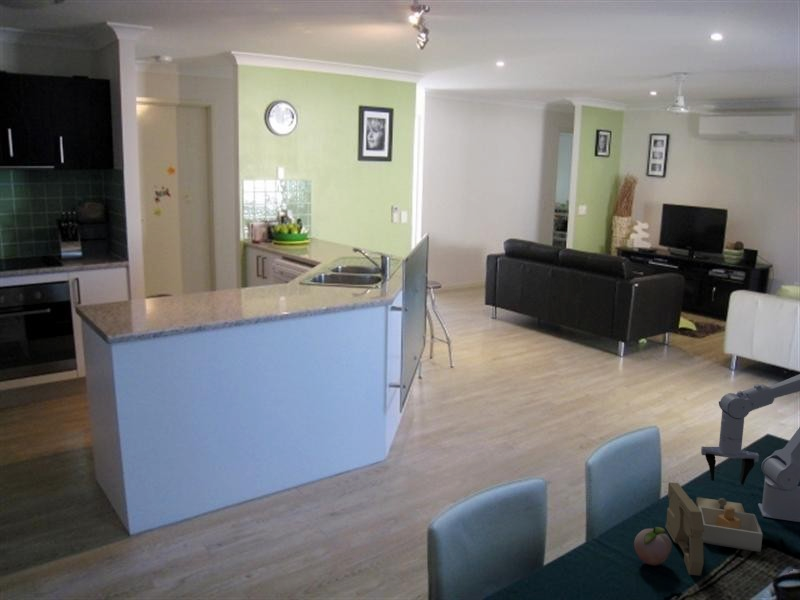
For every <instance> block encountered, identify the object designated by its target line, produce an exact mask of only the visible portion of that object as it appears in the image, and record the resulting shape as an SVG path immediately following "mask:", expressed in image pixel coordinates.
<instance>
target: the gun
mask: <svg viewBox="0 0 800 600" xmlns="http://www.w3.org/2000/svg"><path fill="white" fill-rule="evenodd" d="M667 490H668V491H667V498H668V499H669V501H668V507H667V509H666V522H665V525H664V527H665V528H664V529H666V531H667V534H668V535H669V536H670V537H671V539H672V541H673V542H674V544H675V545H678V546H679V548H680V549H681V551H682V553H683V562H684V564H685V567H686V570H687V573H688V575H689V576H690V575H691V576H702V572H703V567H704V543H703V539H702V538H701V537H702V532H704V524H703V519H702V513H701V511H700V510H699V508H698V507H697V504H696V503H695V502H694V501H693V499H692V498H690V496H689V495H688V494H687V492H685V490H684V489H683V488H682V487H681V485H680V484H679V482H670V481H669V482H668V488H667Z"/></svg>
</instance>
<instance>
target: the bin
mask: <svg viewBox="0 0 800 600" xmlns="http://www.w3.org/2000/svg"><path fill="white" fill-rule="evenodd" d="M698 508H699V510H700V511H701V513H702V519H703V524H704V532H702V537H701V538H702V539H703V544H709V545H715V546H720V547H721V546H722V547H726V548H727V547H728V548H733V549H739V550H744V551H745V550H748V551H753V552H757V553H762V552H761V551H762V543H763V536H764V535H763V532H762V528H761V526H760V524H759V522H758V518H757V516H756V514H754V513H748V512H745V513H743V512H736V511H735V512H734V517H736V518H738V519H740V520H741V522H740V529H733V528H727V527H720V526H716V522H717V516H718V515H722V514H724V510H722V509H715V508H709V507H702V506H699V507H698Z"/></svg>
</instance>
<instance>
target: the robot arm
mask: <svg viewBox="0 0 800 600" xmlns="http://www.w3.org/2000/svg"><path fill="white" fill-rule="evenodd" d="M799 392H800V373H799V374H796V375H795V376H791V377H790V378H788V379H785V380H782V381H780V382H777V383H775V384H772V385H770V386H767V385H765V384H759V383H757V384H753V387H751V388H748V389H745V390H738V391H737V393H732V392H729V393H725V394H724V395H723V396H722V397H721V399H720V400H719V401H718V406H719V408H720V409H721V419H720V420H721V421H720V430H719V441H718V446H701V448H700V453H701V456H705V460H706V462H707V464H708V468H709V473H710V478H709V479H710V481H712V482H714V481H715V470H716V469H715V468H716V462H717V461H716V457H723V458H728V459H735V460H736V459H738V460H741V470H740V477H739V483H740V485H743V486H744V485H745V482H746V480H747V477H748V475H749V473H750V472H751V471H752V469H753V468H754V467H755V463H758V462H759V459H760V458H759V457H760V455H759V453H758V452H753V451H748V450H743V449H742V448H743V446H742V445H743V435H744V424H745V418H746V417H747V416H748V415H749V414H750V412H752V411H755V410H757V409H760V408H763V407H767V406H769V405H770V406H771V405H772V404H773V403H774V401H775V399H777V398H781V397H784V396H787V395H791V394H795V393H799ZM760 468H761V472H763V474H764V483H763V493H762V503H758V504H757V506H758V508H759V511H760V513H761V516H762V517H763V518H770V519H776V520H783V521H791V522H795V523H797V522H798V523H800V486H798V485H799V483H800V426H799V427H798V428H797V430H796V431H795V433H794V434H793V435H792V437H791V438H790V439H789V440H788V442H787V443H786V445H784V447H783V448H781V449H777V450H774V452H772V454H771V455H769V456H767V457H766V458H764V460H763V461H762V462H761V466H760Z"/></svg>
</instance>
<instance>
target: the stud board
mask: <svg viewBox="0 0 800 600" xmlns="http://www.w3.org/2000/svg"><path fill="white" fill-rule="evenodd" d="M695 501H696V503H695V504H696V506H697V507H699V506H702V507H709V508H715V509H722V510H725V507H726V506H730V507H733V508H734V509H735V511H736V512H743V513H746V512H745V510H744V507H743V504H742V503H740V502H733V501H727V500H726V499H725V497H724V498H723V497H719V498H718V499H714V498H713V499H711V498H706V497H698V496H697V497H696V500H695Z"/></svg>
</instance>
